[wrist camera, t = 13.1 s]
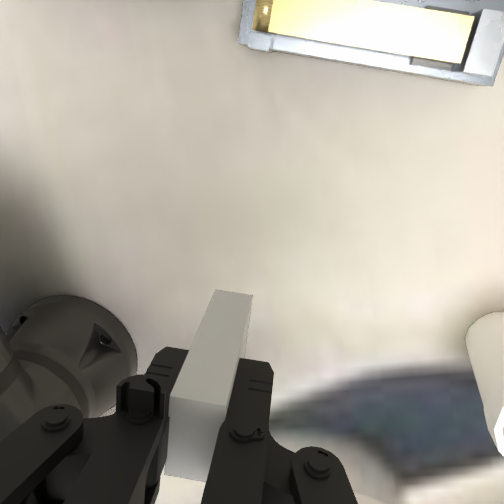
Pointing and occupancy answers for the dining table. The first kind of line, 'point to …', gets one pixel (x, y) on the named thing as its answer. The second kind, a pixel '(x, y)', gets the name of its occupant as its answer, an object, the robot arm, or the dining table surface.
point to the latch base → (468, 71)
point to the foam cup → (489, 370)
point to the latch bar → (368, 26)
